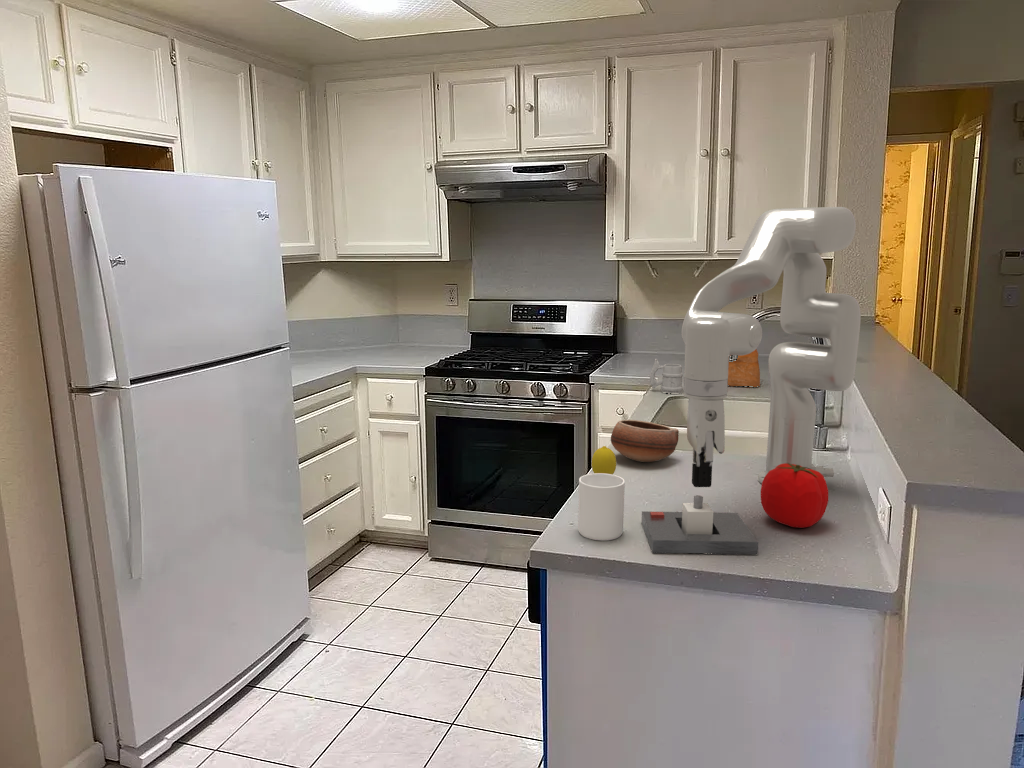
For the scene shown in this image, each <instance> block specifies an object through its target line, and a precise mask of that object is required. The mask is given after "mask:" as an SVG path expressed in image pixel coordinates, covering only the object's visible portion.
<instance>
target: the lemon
mask: <svg viewBox="0 0 1024 768" xmlns="http://www.w3.org/2000/svg"><path fill="white" fill-rule="evenodd" d="M616 458H617V456H616V455H615V452H614V451H613V450H612V449H611V448H609V447H607V446H606V445H603V446H601V447H599V448H597V449H596V450H595V451H594V453H593V455H592V457H591V469H592V470H591V471H592V472H593V474H594V473H604V474H612V475H615V474H614V473H615V472H616V469H617V459H616Z"/></svg>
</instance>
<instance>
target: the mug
mask: <svg viewBox="0 0 1024 768" xmlns="http://www.w3.org/2000/svg"><path fill="white" fill-rule="evenodd" d="M658 370H662V372H661V376H662V379H660V380H656V377H655V375H656V372H657V371H658ZM682 370H683V366H682V364H678V363H666V364H663V365H660V362H659V360H658V358H655V359H654V363H653V365H652V368H651V371H650V373H649V384H650V386H651V387H652V389H656V387H658V386H660V390H661V393H662V392H666V393H681V392H682V391H684V386H683V381H682V380H683V378H682V377H684V373H683V372H682ZM681 394H682V393H681Z"/></svg>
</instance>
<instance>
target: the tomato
mask: <svg viewBox="0 0 1024 768" xmlns="http://www.w3.org/2000/svg"><path fill="white" fill-rule="evenodd" d="M773 467H775V466H773ZM805 468H807V467H802V466H800V465H795V464H789V463H788V464H787V462H786V463H784V464H780V465H778V466H777V467H776V468H775V469H773V470H770V471H769V472H768V473H767V475H766V476H765V478H764V480H763V482H762V483H761V488H760V503H761V506H762V509H763V511H764V513H765V514H766V515H767V516H768V517H770V518H771V519H772V520H773V521H776V522H778V523H779V524H782V525H786V526H789V527H791V528H803V529H804V528H809V527H812V526H814V525H815V524H816V523H818V522H819V521H821V519H822V518H823V517H824V515H825V512H826V510H827V506H828V503H829V487H828V485H827V481H826V479H825V478H826V477H824V476H823V475H822V474H821V473H820V472H818V471H815V470H812V469H810V468H808V469H805Z"/></svg>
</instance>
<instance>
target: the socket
mask: <svg viewBox="0 0 1024 768" xmlns="http://www.w3.org/2000/svg"><path fill="white" fill-rule="evenodd" d="M641 526H642V529H643V532H644V534H645V537H646V540H647V541H648V545H649V547H650V551H651V550H652V551H651V553H652V554H667V553H707V554H706V555H726V554H758V553H759V540H758V539H757V538H756V537H755V535H754V534H753V532H752V531H751V530H750V528H749V527H748V525H747V524H746V523H745V521H744V520H743V518H742V517H741V516H740V514H738V512H713V528H712V534H683V533H682V531H681V529H682V511H641ZM708 553H710V554H708ZM711 553H712V554H711Z"/></svg>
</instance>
